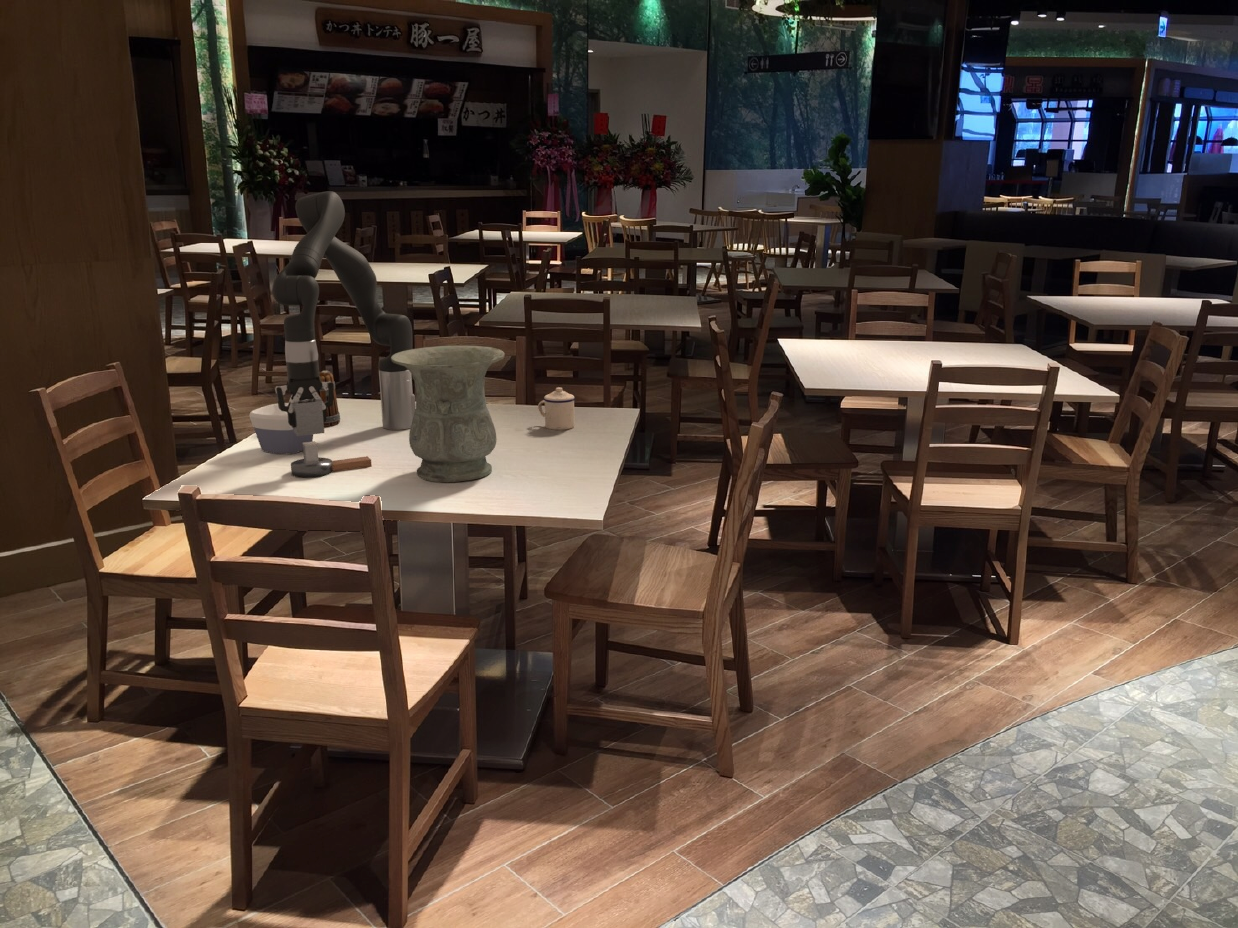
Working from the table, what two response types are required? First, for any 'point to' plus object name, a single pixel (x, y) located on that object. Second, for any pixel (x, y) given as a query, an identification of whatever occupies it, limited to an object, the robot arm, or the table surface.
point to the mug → (332, 411)
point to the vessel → (451, 411)
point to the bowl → (276, 431)
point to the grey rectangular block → (308, 417)
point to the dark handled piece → (323, 463)
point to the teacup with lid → (558, 410)
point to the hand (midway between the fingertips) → (307, 425)
